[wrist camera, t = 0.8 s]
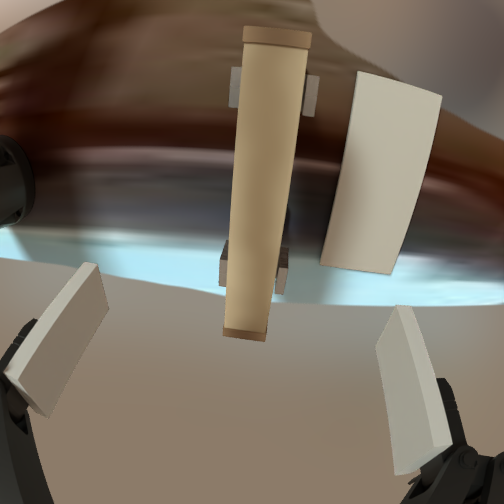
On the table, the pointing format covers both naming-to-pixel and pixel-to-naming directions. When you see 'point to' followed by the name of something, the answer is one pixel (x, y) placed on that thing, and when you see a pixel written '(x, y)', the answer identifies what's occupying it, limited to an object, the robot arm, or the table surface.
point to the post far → (280, 271)
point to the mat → (380, 173)
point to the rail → (262, 172)
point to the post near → (307, 96)
